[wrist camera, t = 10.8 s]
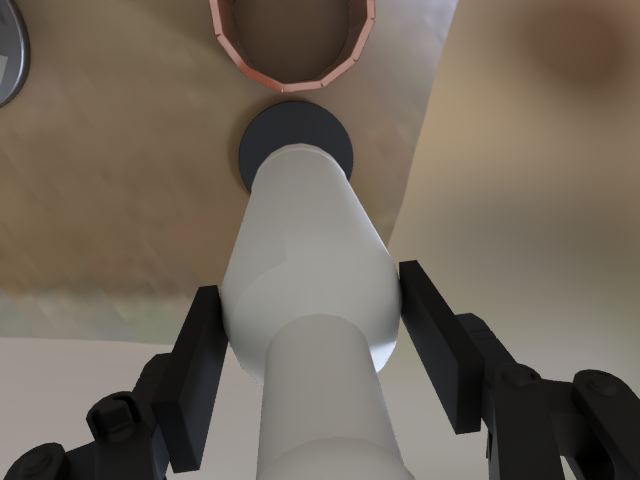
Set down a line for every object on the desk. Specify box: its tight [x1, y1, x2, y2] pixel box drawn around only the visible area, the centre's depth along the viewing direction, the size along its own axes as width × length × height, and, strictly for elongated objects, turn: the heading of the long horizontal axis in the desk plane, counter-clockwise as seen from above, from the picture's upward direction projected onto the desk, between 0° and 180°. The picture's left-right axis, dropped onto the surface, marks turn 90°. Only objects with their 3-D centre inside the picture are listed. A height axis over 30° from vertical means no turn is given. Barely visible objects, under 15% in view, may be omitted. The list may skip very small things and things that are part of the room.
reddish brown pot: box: [209, 0, 375, 93], centre depth 36 cm, size 13×13×10 cm
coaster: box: [239, 101, 353, 193], centre depth 46 cm, size 13×13×1 cm
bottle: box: [220, 143, 415, 480], centre depth 21 cm, size 8×8×30 cm
